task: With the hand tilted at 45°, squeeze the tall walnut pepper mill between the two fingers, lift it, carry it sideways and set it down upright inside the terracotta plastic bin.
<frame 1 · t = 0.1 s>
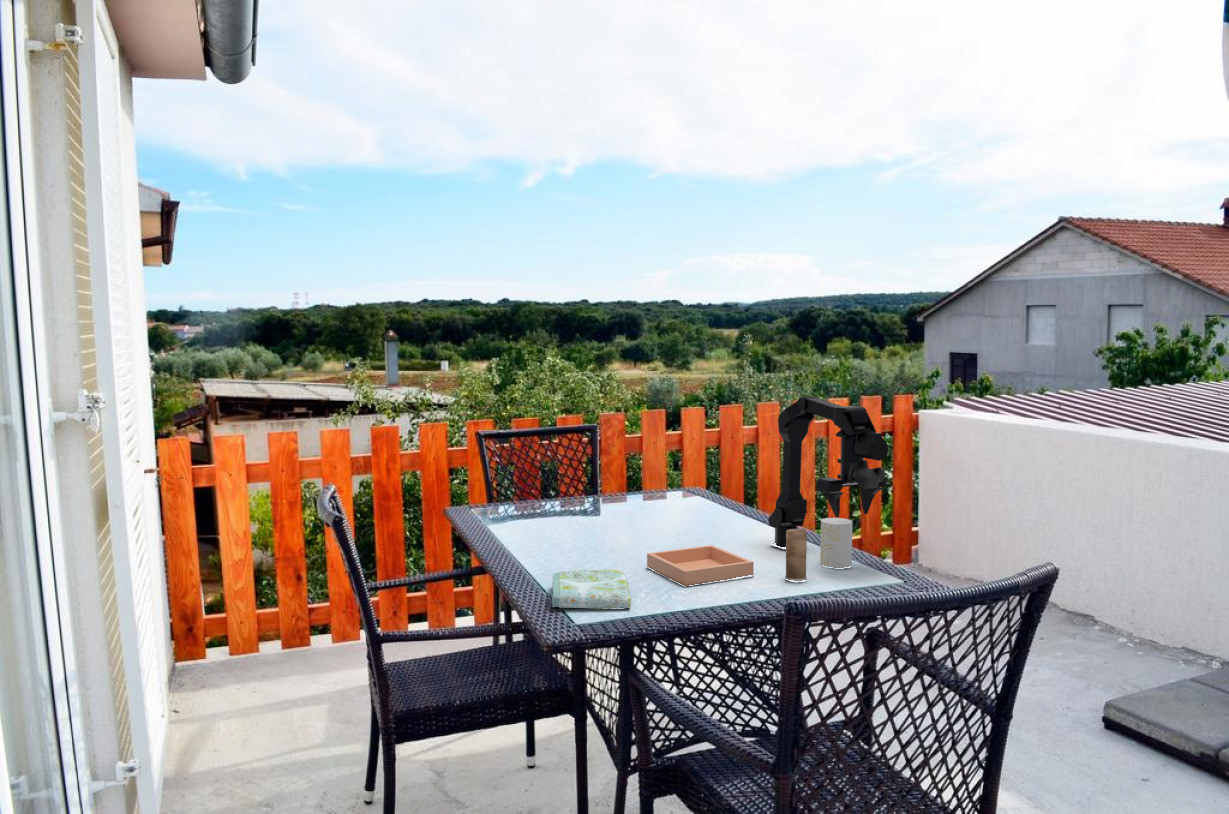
hand: (851, 515, 242), 15 cm above the table, tool pointing down, fingers open, 9 cm apart
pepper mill: (795, 580, 235), on the table
towel: (590, 600, 222), on the table
bin: (699, 572, 242), on the table
light grey cylinder: (835, 566, 249), on the table
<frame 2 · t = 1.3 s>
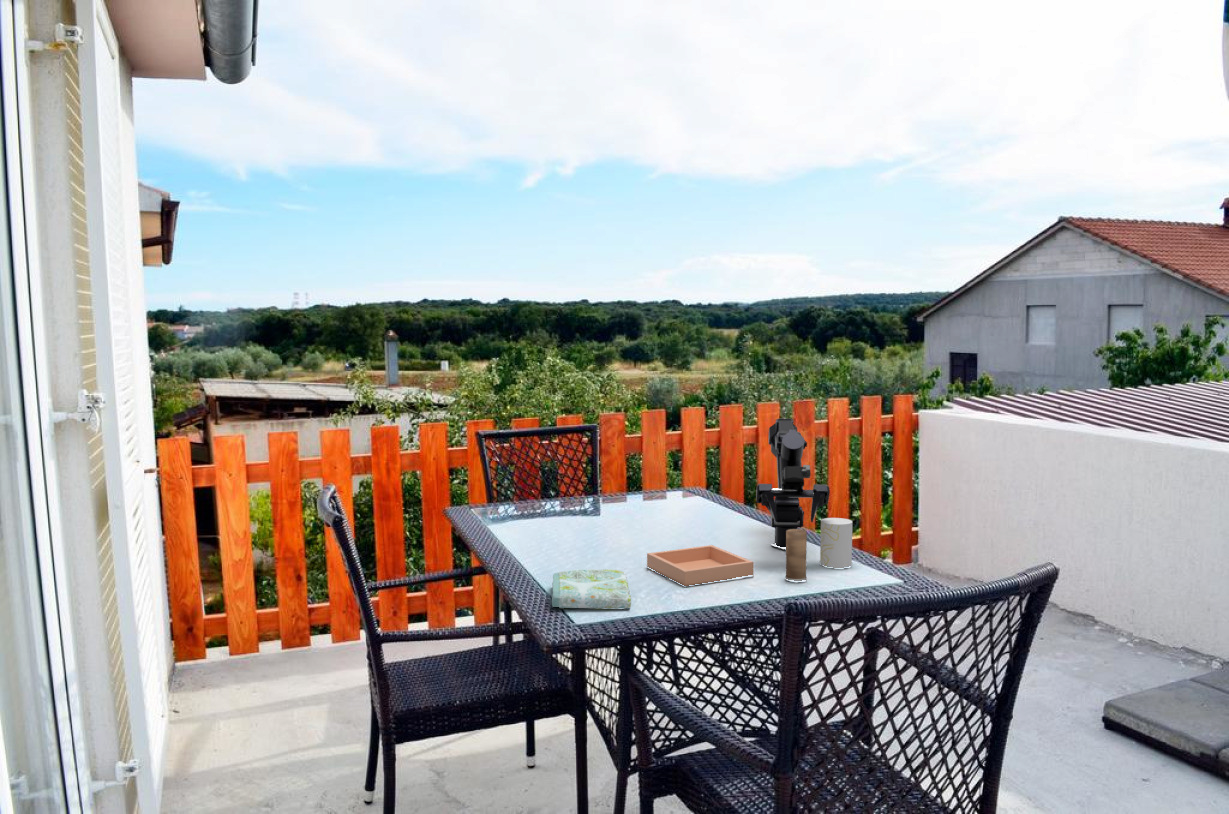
hand: (793, 521, 241), 13 cm above the table, tool tilted 45°, fingers open, 9 cm apart
nothing on the table moved.
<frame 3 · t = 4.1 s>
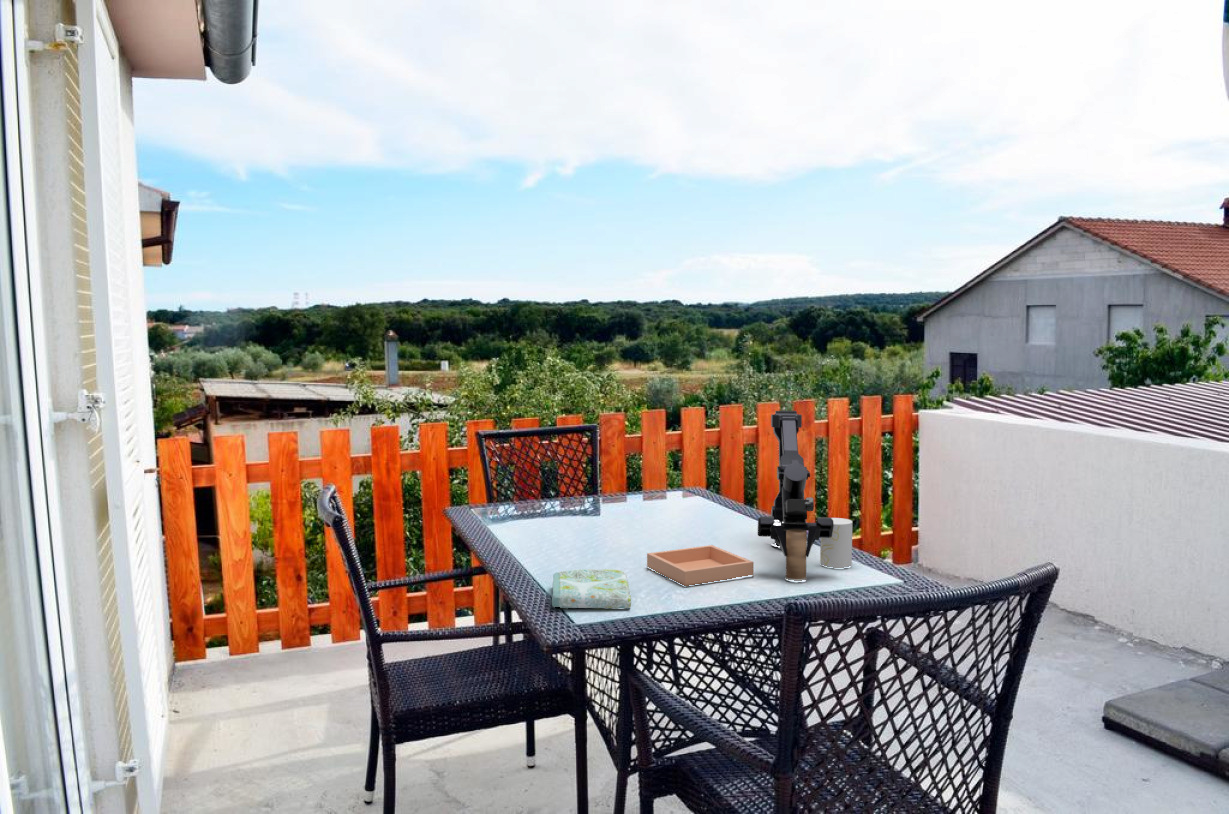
hand: (796, 555, 233), 7 cm above the table, tool tilted 45°, fingers closed on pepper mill, 5 cm apart
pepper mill: (795, 580, 235), on the table, touching gripper
everything else where it was.
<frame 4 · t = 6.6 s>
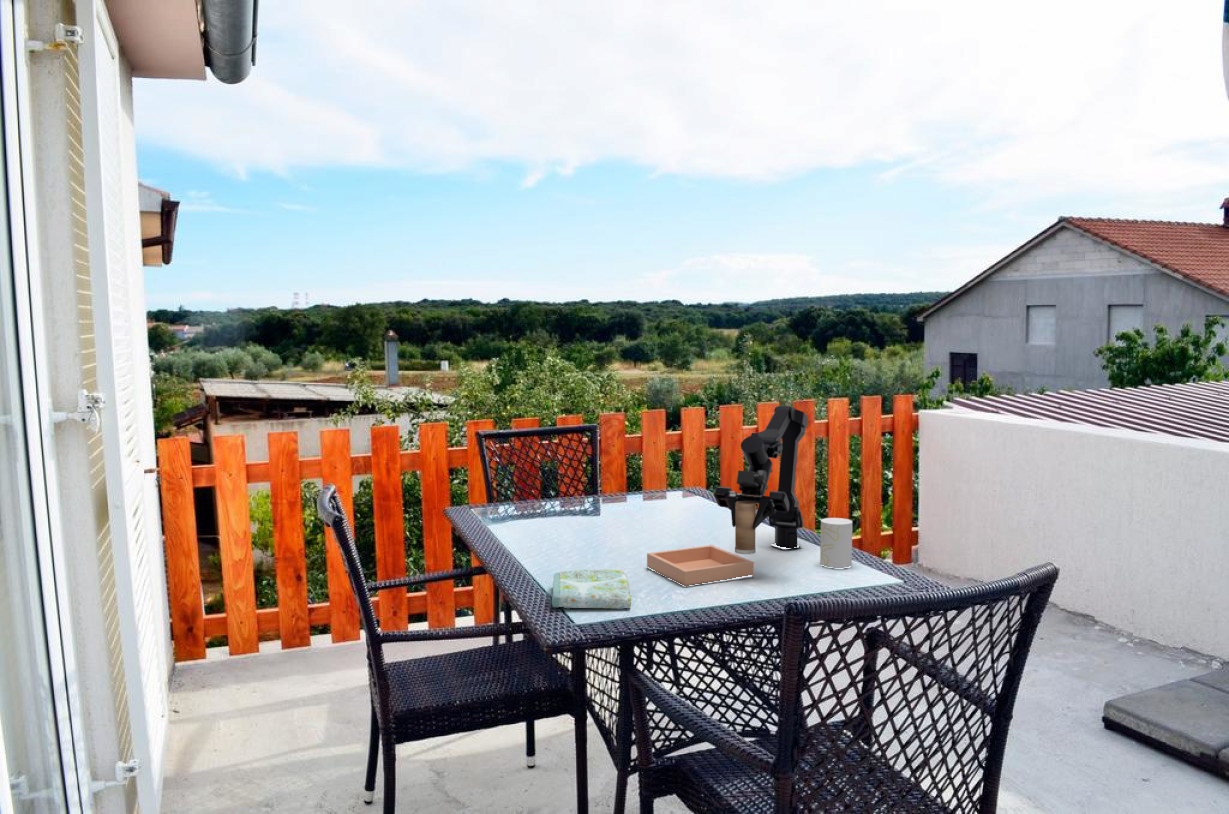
hand: (743, 527, 234), 14 cm above the table, tool tilted 45°, fingers closed on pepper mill, 5 cm apart
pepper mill: (745, 551, 236), point 7 cm above the table, touching gripper
everything else where it was.
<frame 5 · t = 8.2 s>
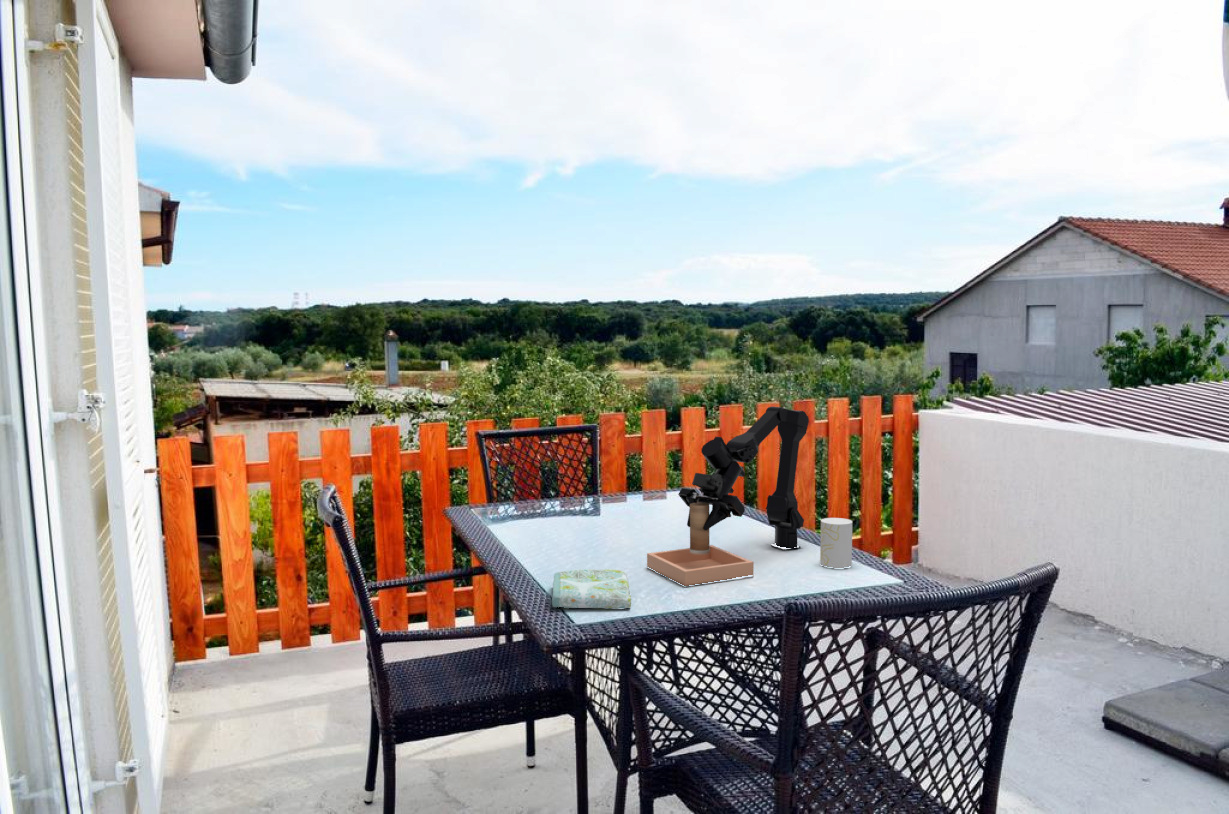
hand: (696, 527, 240), 12 cm above the table, tool tilted 45°, fingers closed on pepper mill, 5 cm apart
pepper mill: (699, 552, 242), point 5 cm above the table, touching gripper
everything else where it was.
when the fingers open (8 cm above the table, at t = 9.3 s): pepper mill drops 1 cm, resting on bin.
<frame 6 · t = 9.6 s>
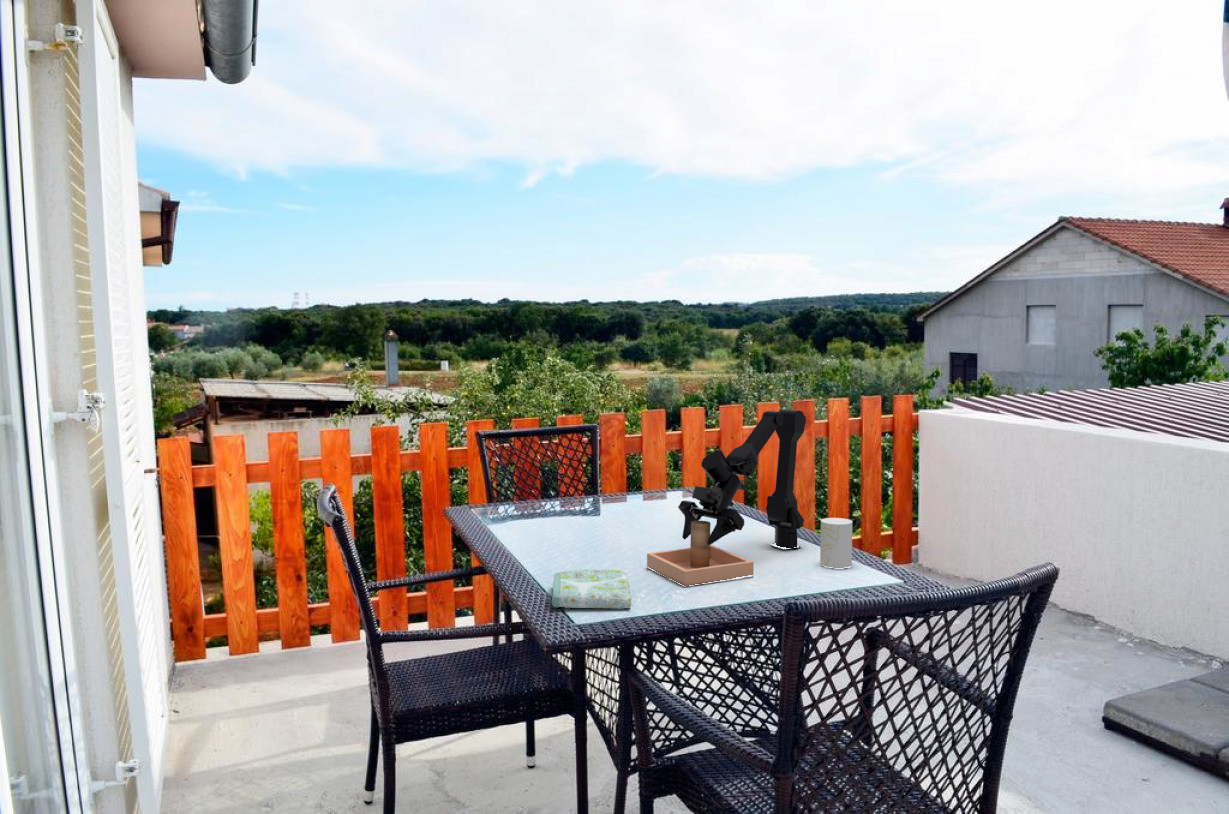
hand: (695, 541, 241), 9 cm above the table, tool tilted 45°, fingers open, 8 cm apart
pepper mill: (699, 570, 242), point 1 cm above the table, touching bin
everything else where it was.
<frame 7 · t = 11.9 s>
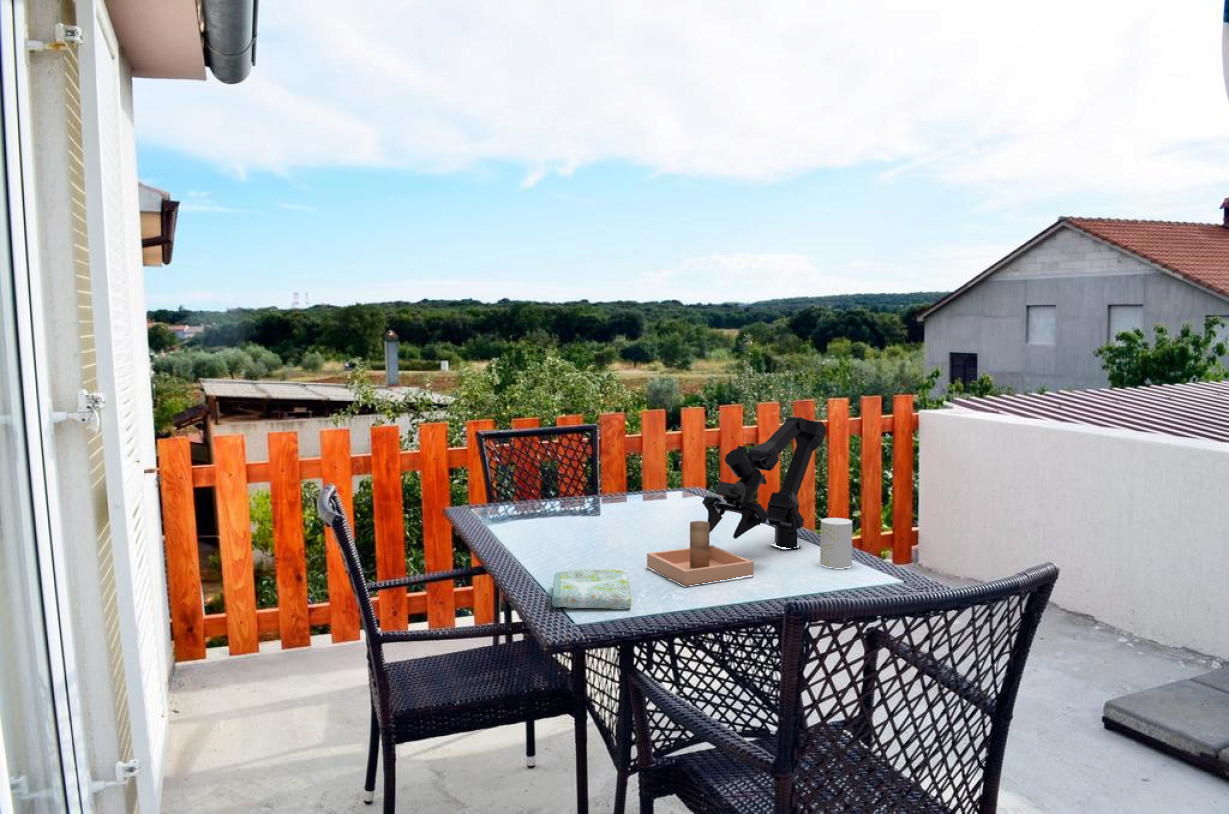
hand: (720, 535, 247), 9 cm above the table, tool tilted 45°, fingers open, 9 cm apart
nothing on the table moved.
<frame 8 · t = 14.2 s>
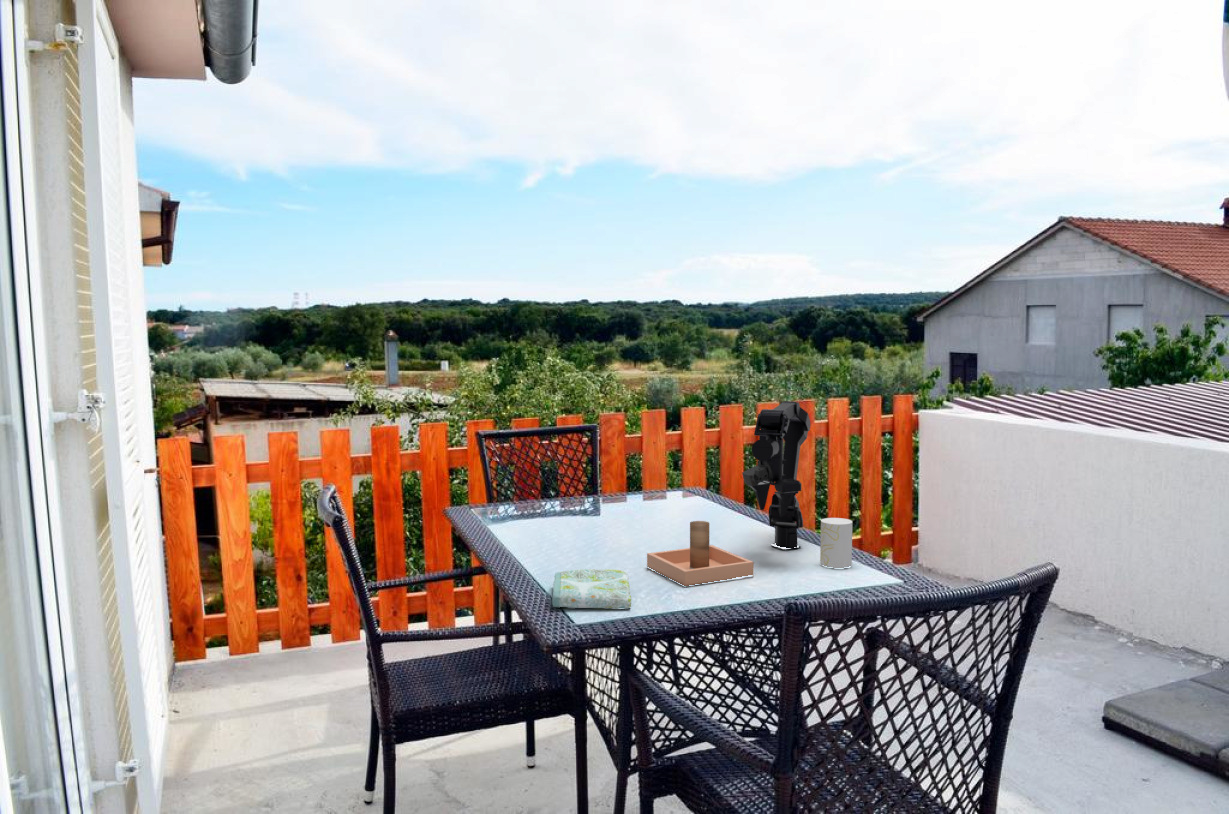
hand: (771, 513, 253), 13 cm above the table, tool pointing down, fingers open, 9 cm apart
nothing on the table moved.
at the end: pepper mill inside the target area on the bin (0.1 cm from its centre), point 0.6 cm above the bin's base; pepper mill tilted 0°; the gripper is holding nothing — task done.
